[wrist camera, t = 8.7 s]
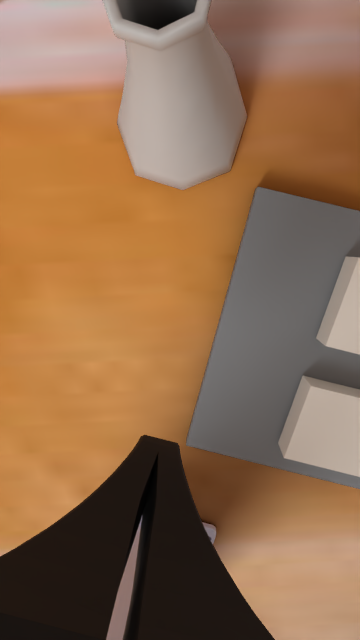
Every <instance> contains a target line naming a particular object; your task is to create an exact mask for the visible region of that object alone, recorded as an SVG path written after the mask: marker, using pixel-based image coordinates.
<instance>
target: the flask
mask: <svg viewBox="0 0 360 640" xmlns="http://www.w3.org/2000/svg"><path fill="white" fill-rule="evenodd" d="M102 1H103V3H104V6H105V9H106V12H107V15H108V18H109V21H110V24H111V26H112V29H113V32H114V35H115V36H116V37H117V38H119V39H122V40H125V45H126V54H127V67H126V74H125V81H124V89H123V96H122V101H121V105H120V110H119V115H118V121H117V125H118V128H119V131H120V133H121V136H122V139H123V142H124V144H125V147H126V150H127V153H128V155H129V158H130V161H131V164H132V166H133V169H134V172H135V174H136V176H139V177H143V178H146V179H149V180H152V181H155V182H158V183H162V184H165V185H168V186H171V187H174V188H178V189H181V190H184V189H187V188H189V187H192V186H194V185H197V184H199V183H202V182H204V181H207V180H209V179H212V178H214V177H217V176H219V175H222V174H224V173H227V172H229V171H230V170H231V167H232V163H233V160H234V157H235V154H236V151H237V148H238V144H239V141H240V138H241V135H242V132H243V129H244V125H245V122H246V119H247V113H246V110H245V106H244V103H243V99H242V96H241V92H240V89H239V85H238V82H237V78H236V75H235V71H234V67H233V64H232V60H231V58H230V56H229V55H228V53H227V52H226V50H225V49H224V48H223V46H222V45H221V44H220V42H219V41H218V40H217V38H216V36H215V34H214V32H213V31H212V29H211V27H210V25H209V24H208V21H207V15H208V12H209V8H210V4H211V0H102Z"/></svg>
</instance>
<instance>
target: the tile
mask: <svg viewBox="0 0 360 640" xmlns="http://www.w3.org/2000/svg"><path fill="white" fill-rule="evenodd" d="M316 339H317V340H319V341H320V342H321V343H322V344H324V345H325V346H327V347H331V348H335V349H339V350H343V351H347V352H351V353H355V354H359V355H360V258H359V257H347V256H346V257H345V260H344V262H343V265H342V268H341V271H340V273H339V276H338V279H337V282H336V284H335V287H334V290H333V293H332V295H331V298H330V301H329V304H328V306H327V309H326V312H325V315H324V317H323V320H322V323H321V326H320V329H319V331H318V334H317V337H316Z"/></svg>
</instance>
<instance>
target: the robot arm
mask: <svg viewBox="0 0 360 640" xmlns="http://www.w3.org/2000/svg"><path fill="white" fill-rule="evenodd" d="M215 537H216V528H215V526H213V525H211V524H207V523H203V522H202V521H201V518H200V516H199V514H198V511H197V508H196V506H195V503H194V501H193V498H192V495H191V492H190V489H189V486H188V483H187V479H186V476H185V472H184V469H183V465H182V460H181V455H180V448H179V445H178V443H175V442H171V441H167V440H163V439H159V438H155V437H151V436H147V435H143V436H141V437H140V439H139V441H138V443H137V444H136V446H135V447H134V449H133V450H132V451H131V453H130V454H129V455H128V457H127V458H126V459H125V460H124V461H123V462H122V464H121V465H120V466H119V467H118V468H117V469H116V470H115V472H114V473H113V474H112V475H111V476H110V477H109V478H108V479H107V480H106V481H105V482H104V483H103V484H102V485H101V486H100V487H99V488H98V489H96V490H95V491H94V492H93V493H92V494H91V495H90V496H89V497H88V498H86V499H85V500H84V501H83V502H82V503H80V504H79V505H78V506H77V507H75V508H74V509H73V510H72V511H70V512H69V513H68V514H66V515H65V516H64V517H62V518H61V519H60V520H58V521H57V522H55V523H54V524H53V525H51V526H50V527H48V528H47V529H45V530H44V531H42V532H40V533H39V534H37V535H36V536H34V537H33V538H31V539H29V540H28V541H26V542H25V543H23V544H21V545H20V546H18V547H17V548H15V549H13V550H11V551H10V552H8V553H6V554H4V555H2V556H0V640H275V639H274V638H273V637H272V635H271V634H270V633H269V631H268V630H267V629H266V628H265V626H264V625H263V624H262V622H261V621H260V620H259V618H258V617H257V616H256V615H255V613H254V612H253V610H252V609H251V607H250V606H249V604H248V603H247V602H246V600H245V599H244V597H243V596H242V594H241V593H240V591H239V589H238V588H237V586H236V584H235V583H234V581H233V579H232V578H231V576H230V574H229V573H228V571H227V569H226V568H225V566H224V564H223V563H222V561H221V559H220V557H219V556H218V554H217V552H216V550H215V548H214V546H213V543H214V540H215Z"/></svg>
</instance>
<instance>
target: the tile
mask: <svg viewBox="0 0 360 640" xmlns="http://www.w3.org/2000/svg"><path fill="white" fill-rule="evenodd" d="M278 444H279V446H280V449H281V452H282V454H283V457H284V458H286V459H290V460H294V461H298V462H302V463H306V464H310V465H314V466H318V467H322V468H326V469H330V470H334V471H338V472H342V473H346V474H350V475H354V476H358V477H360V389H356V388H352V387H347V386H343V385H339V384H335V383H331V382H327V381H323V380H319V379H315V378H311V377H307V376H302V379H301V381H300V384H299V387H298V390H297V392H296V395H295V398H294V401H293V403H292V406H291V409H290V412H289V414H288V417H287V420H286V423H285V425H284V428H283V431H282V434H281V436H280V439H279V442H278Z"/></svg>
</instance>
